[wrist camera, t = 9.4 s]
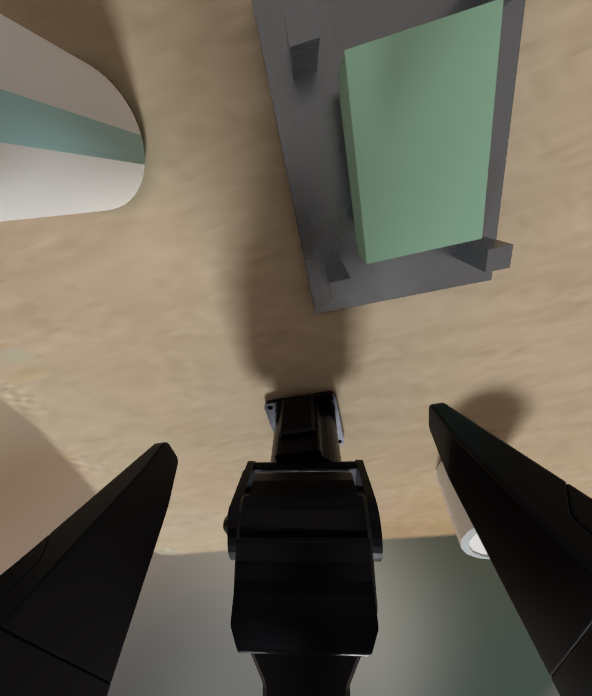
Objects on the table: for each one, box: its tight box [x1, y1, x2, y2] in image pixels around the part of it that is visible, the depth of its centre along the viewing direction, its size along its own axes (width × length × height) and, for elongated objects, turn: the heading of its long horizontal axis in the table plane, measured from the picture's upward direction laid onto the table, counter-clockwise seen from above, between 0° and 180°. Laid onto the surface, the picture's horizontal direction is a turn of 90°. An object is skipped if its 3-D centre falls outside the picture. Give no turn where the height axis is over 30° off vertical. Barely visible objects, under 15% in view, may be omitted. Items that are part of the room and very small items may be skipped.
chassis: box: [252, 0, 525, 314], centre depth 14 cm, size 16×12×4 cm
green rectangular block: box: [337, 0, 504, 264], centre depth 13 cm, size 8×6×3 cm
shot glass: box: [436, 461, 490, 559], centre depth 26 cm, size 7×7×7 cm
